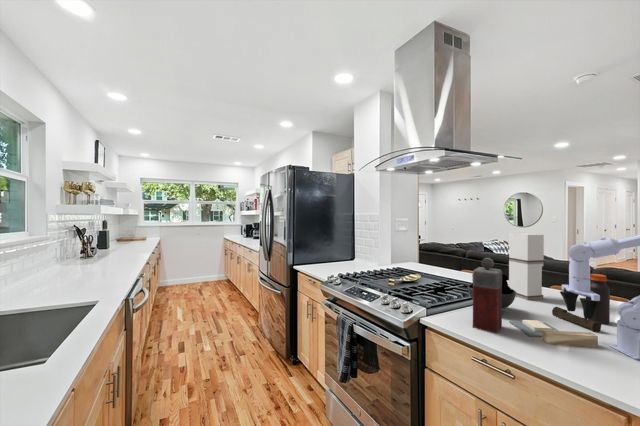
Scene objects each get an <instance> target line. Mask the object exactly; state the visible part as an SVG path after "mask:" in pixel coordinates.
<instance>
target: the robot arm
mask: <svg viewBox="0 0 640 426" xmlns="http://www.w3.org/2000/svg"><path fill="white" fill-rule="evenodd" d="M636 247H637V248H638V247H640V234H638V235H634V236H630V237H625V238H621V239H614V238H612V237H607V238H606V237H605V236H603V237H600V238H599V239H598V240H594V241H589V242H588V241H584V242H582V244H580V243H579V244H574V245H571V247H570V248H569V250H568V255H569V259H568V260H569V264H568V273H569V274H568V284H561V290H560V291H559V294H560V296H562V298H563V301H564V303H565V306H566V310H567V312H576V309H577V300H578V298H579V302H580V303H581V306H582V312H583V318H586V319H592V318H593V315H594V312H595V310H596V308H597V307H598V306H599V305H600V304H601V301H600V295H598V294H596V293H594V292H592V291H590V283H591V265H590V260H591V259H590V258H593V259H598V258H602V257H603V258H604V257H607V256H609V257H610V256H613V255H618V254H619V253H620V251H621V250H624V249H629V248H636ZM579 296H582V297H579ZM617 313H618V315H619V316H620V318H619V319H618V320H616V344H610V343H609V344H608V346H609V347H611V348H613V349H614V350H616V351H618V352H621V353H623V354H624V355H626V356H628V357H630V358H632V359H634V360H638V361H639V360H640V295H638V296H635V297H633V298H632V299H631V300H628V301H626V302H623V303H621V304H619V305H618V307H617Z"/></svg>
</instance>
